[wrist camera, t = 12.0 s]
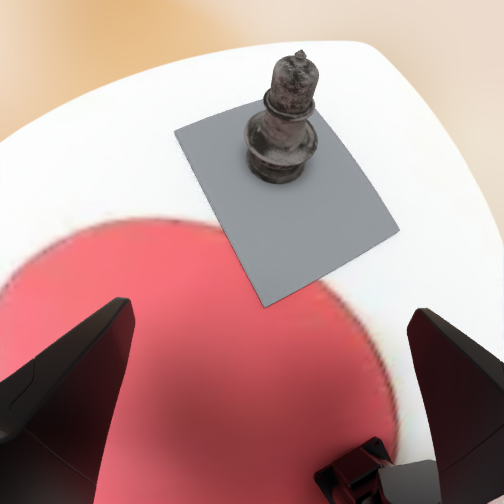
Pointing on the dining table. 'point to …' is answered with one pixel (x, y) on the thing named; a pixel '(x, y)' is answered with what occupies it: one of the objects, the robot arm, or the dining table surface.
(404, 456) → the dining table surface
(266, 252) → the mat
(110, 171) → the dining table surface
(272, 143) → the dark grey chess piece
